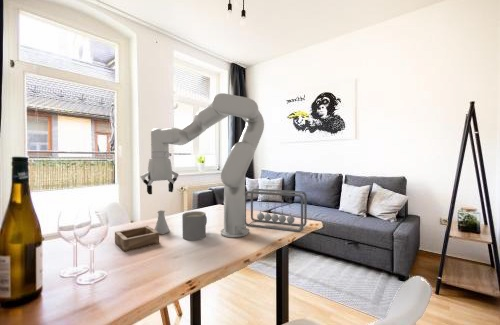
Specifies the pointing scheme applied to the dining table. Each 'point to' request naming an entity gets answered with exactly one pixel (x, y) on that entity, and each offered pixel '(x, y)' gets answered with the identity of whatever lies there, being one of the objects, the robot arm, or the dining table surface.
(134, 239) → the walnut well
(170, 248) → the dining table surface
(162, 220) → the flask
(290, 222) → the newton's cradle
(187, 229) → the coffee mug
